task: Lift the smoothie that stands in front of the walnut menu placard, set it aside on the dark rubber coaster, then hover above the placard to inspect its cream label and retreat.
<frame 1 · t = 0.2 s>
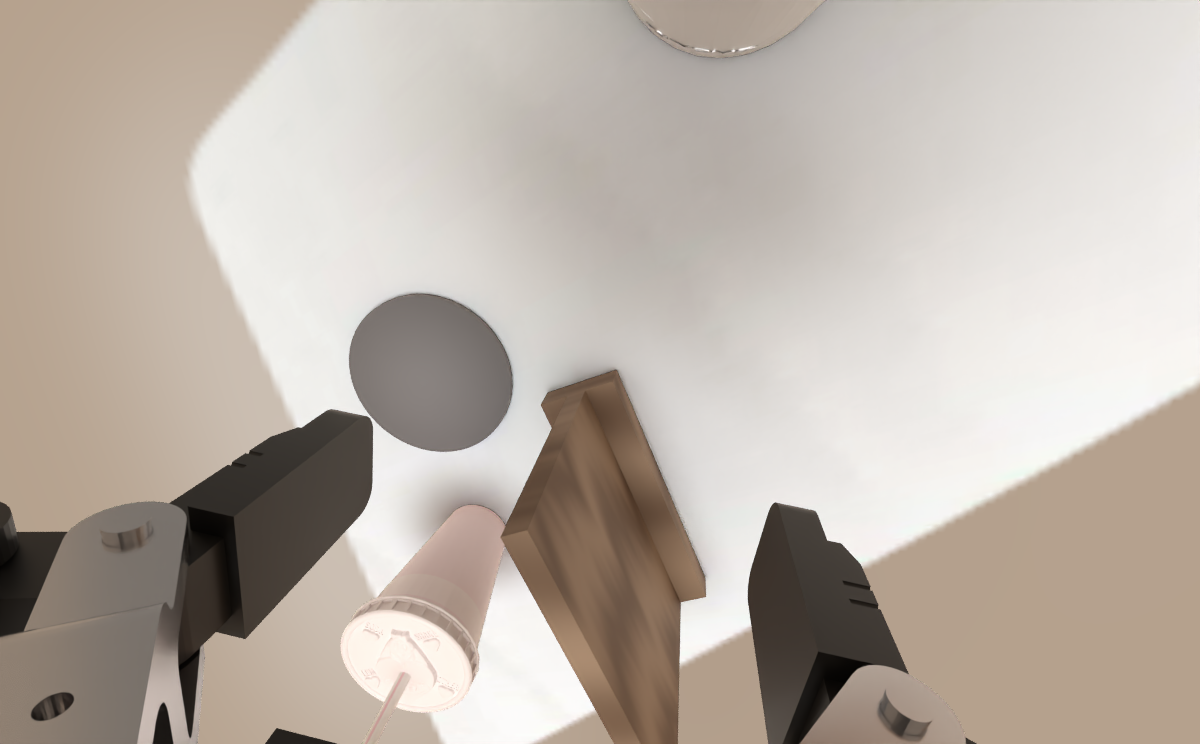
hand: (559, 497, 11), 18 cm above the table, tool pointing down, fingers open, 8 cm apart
smoothie: (478, 528, 35), on the table
coaster: (432, 374, 31), on the table
placard: (630, 489, 32), on the table
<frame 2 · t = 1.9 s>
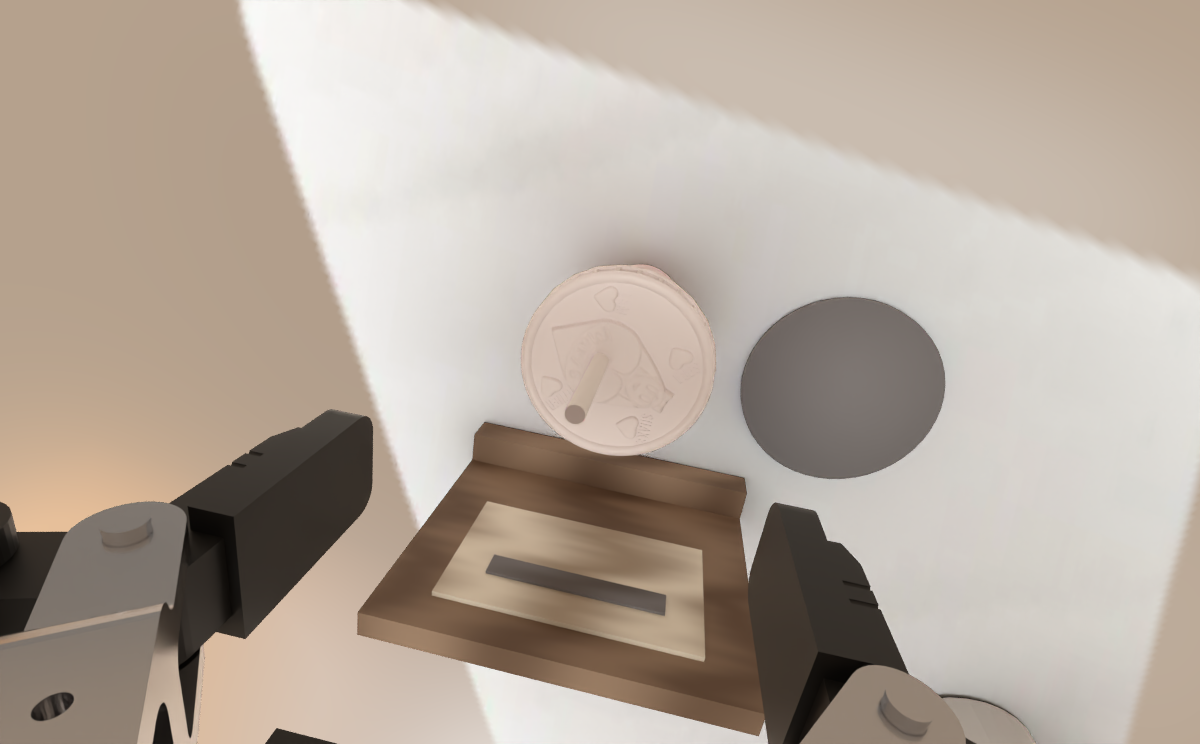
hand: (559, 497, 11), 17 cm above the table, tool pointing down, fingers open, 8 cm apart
smoothie: (640, 302, 27), on the table
coaster: (837, 390, 27), on the table
placard: (605, 482, 31), on the table
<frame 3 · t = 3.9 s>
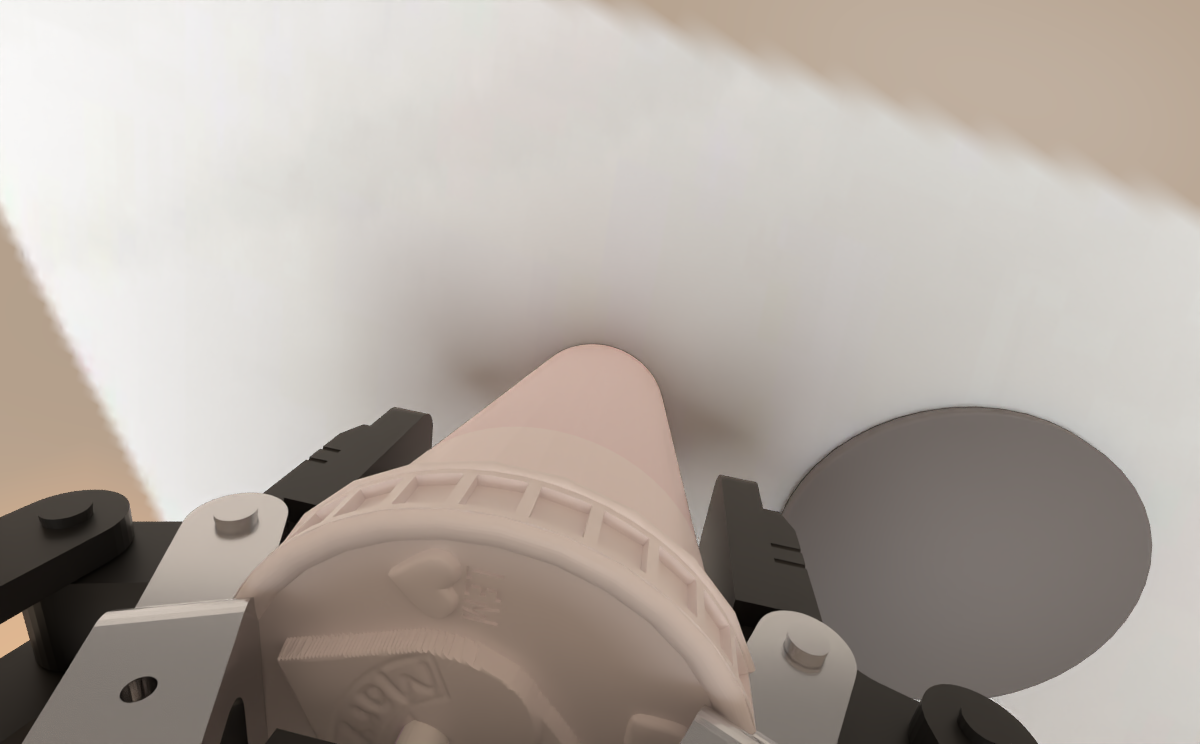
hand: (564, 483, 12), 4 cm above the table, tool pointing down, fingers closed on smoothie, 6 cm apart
smoothie: (596, 406, 16), on the table, touching gripper
coaster: (944, 560, 15), on the table
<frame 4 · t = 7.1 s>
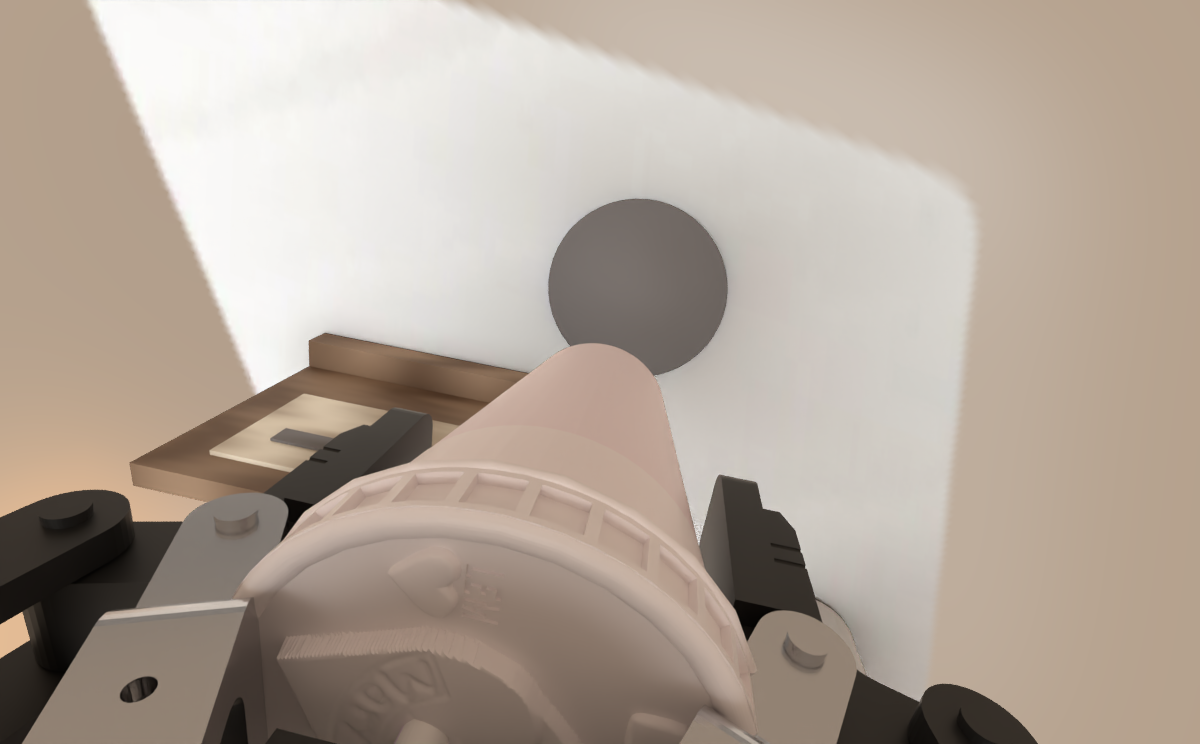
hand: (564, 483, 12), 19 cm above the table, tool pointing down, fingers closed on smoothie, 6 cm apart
smoothie: (596, 405, 16), point 15 cm above the table, touching gripper
coaster: (636, 290, 29), on the table
placard: (440, 388, 33), on the table
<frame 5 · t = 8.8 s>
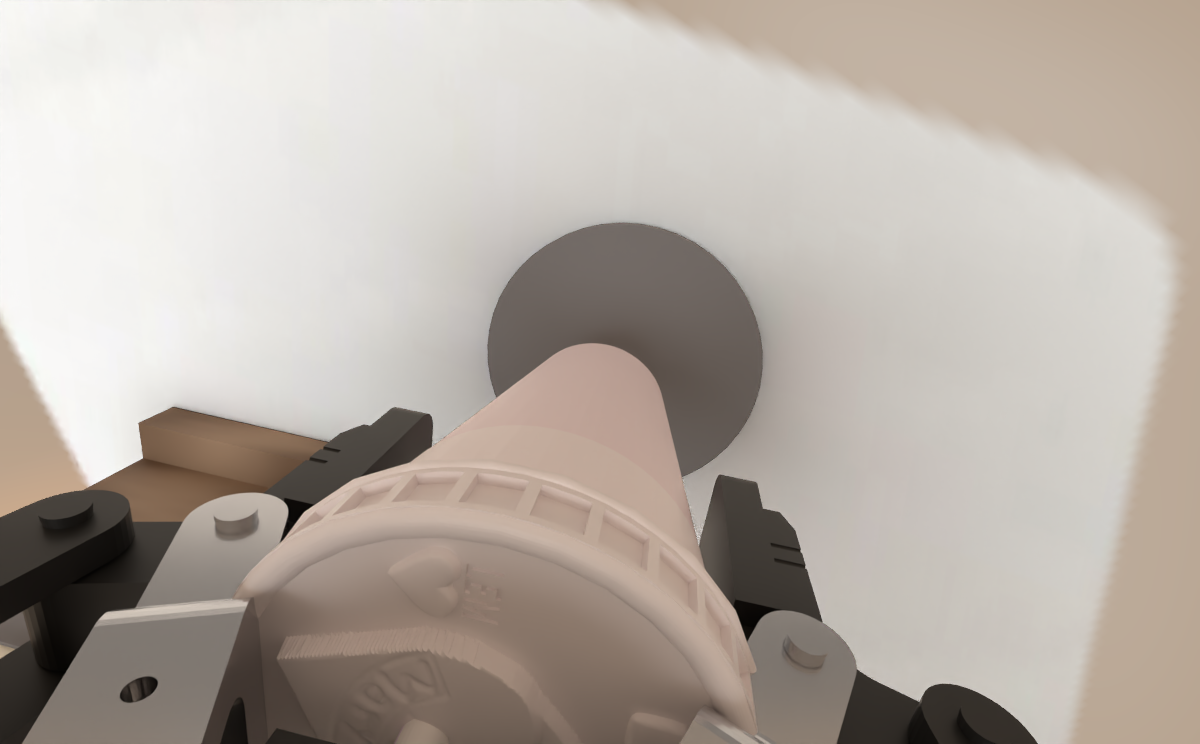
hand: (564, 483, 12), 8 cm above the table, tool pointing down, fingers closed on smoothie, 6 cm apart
smoothie: (596, 405, 16), point 4 cm above the table, touching gripper
coaster: (622, 361, 19), on the table
placard: (339, 489, 23), on the table
when the fingers open (6 cm above the table, at t = 10.3 s): smoothie drops 1 cm, resting on coaster.
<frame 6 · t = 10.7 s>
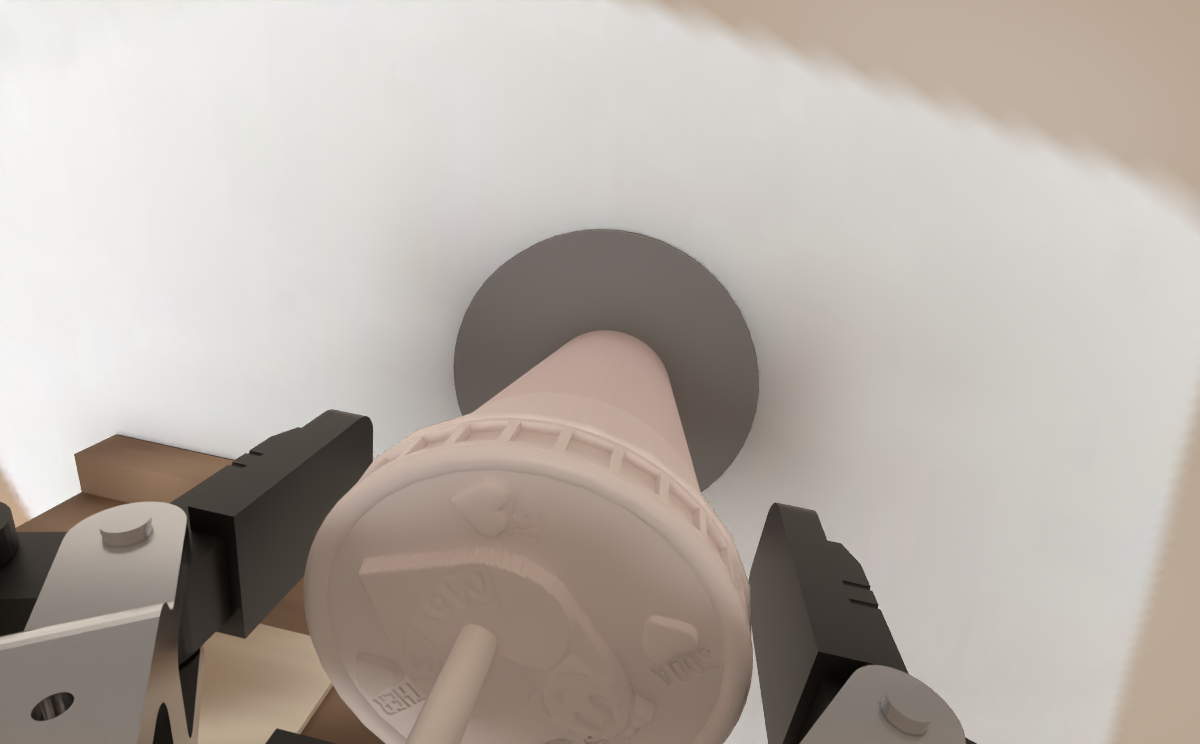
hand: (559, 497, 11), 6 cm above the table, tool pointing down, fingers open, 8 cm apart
smoothie: (608, 388, 17), resting on coaster
coaster: (603, 382, 17), on the table
placard: (299, 521, 21), on the table
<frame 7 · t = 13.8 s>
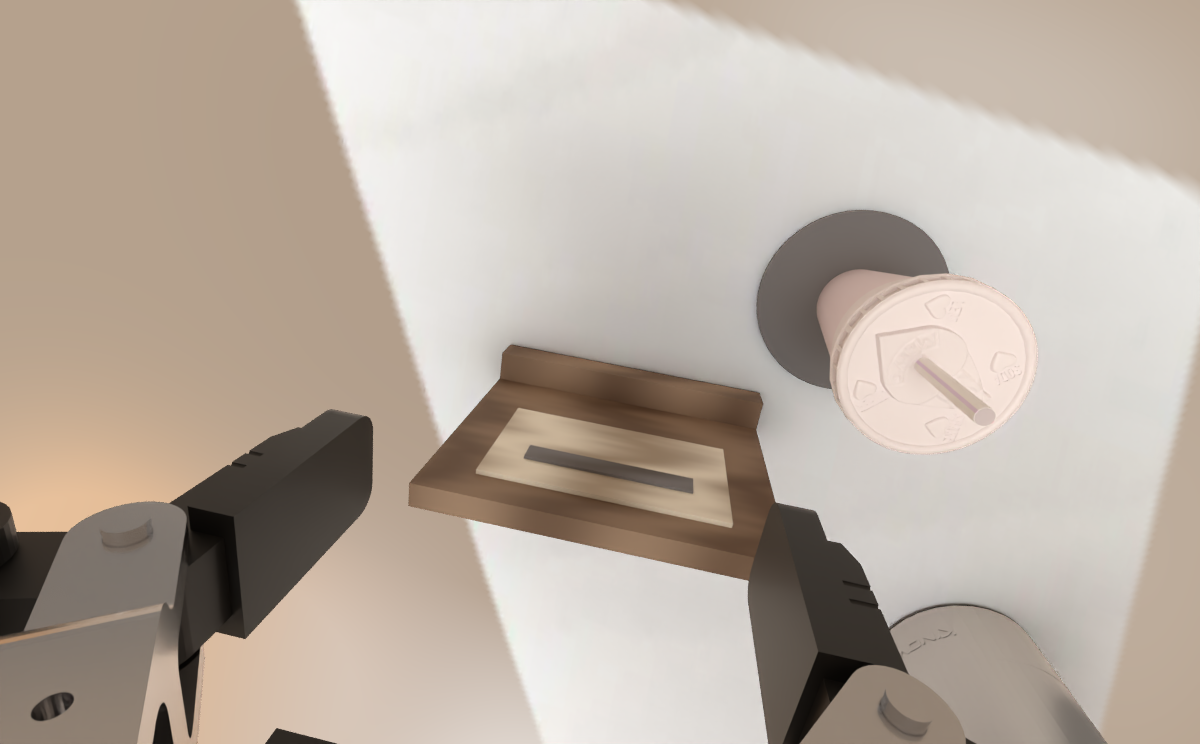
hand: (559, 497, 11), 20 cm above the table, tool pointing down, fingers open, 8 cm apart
smoothie: (854, 305, 28), resting on coaster
coaster: (848, 302, 29), on the table
placard: (626, 401, 32), on the table
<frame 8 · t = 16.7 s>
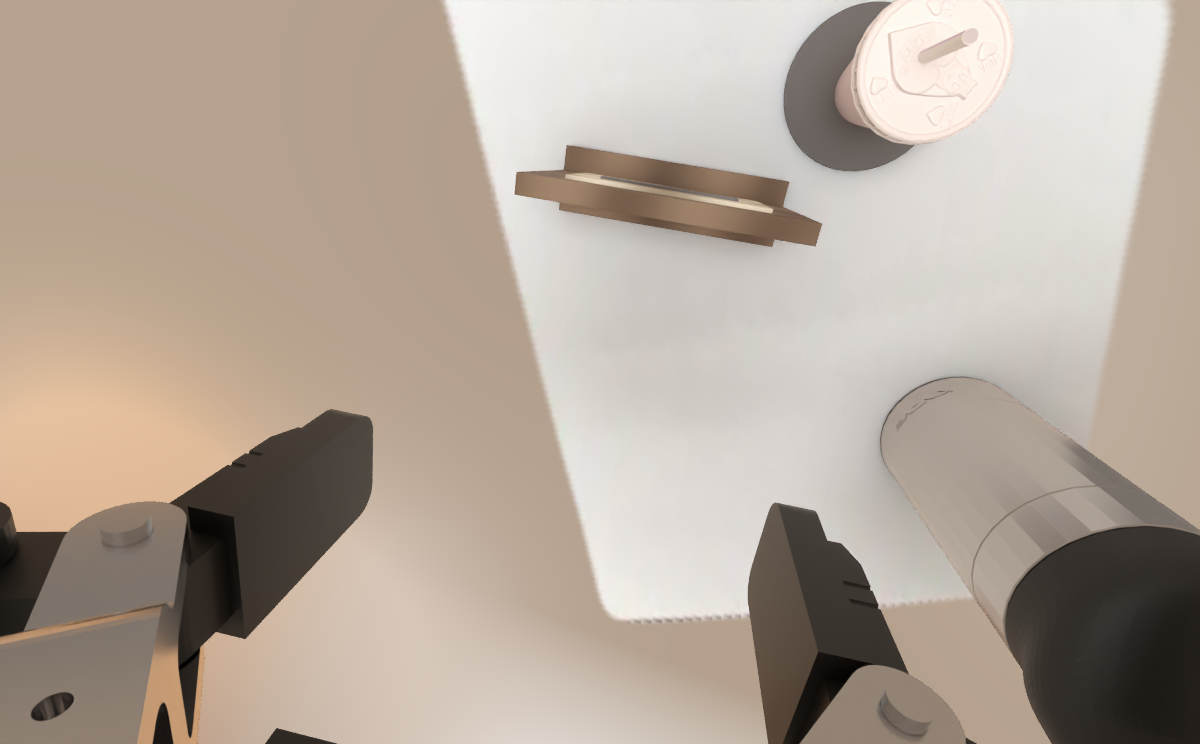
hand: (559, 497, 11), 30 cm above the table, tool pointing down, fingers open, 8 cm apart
smoothie: (866, 91, 34), resting on coaster
coaster: (861, 91, 34), on the table
placard: (670, 195, 38), on the table
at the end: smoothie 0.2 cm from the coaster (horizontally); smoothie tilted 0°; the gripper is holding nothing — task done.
